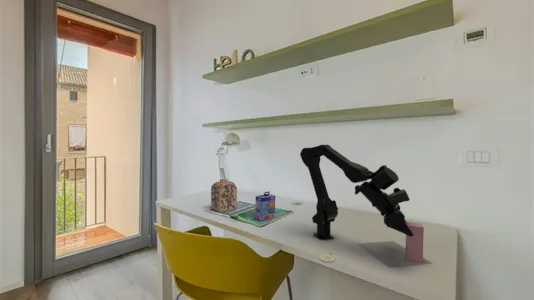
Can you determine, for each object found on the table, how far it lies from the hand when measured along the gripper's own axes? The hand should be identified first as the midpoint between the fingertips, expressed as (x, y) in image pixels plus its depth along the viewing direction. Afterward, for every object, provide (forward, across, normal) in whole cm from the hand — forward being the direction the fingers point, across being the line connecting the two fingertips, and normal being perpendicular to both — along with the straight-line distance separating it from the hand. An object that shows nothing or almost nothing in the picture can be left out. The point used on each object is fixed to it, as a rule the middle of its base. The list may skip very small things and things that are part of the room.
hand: (410, 231), depth 86 cm
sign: (-10, -6, +26) cm, 28 cm away
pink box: (+8, 0, +6) cm, 10 cm away
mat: (+3, +3, +11) cm, 12 cm away
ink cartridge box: (-37, +24, +52) cm, 68 cm away
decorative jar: (-58, +32, +74) cm, 99 cm away
